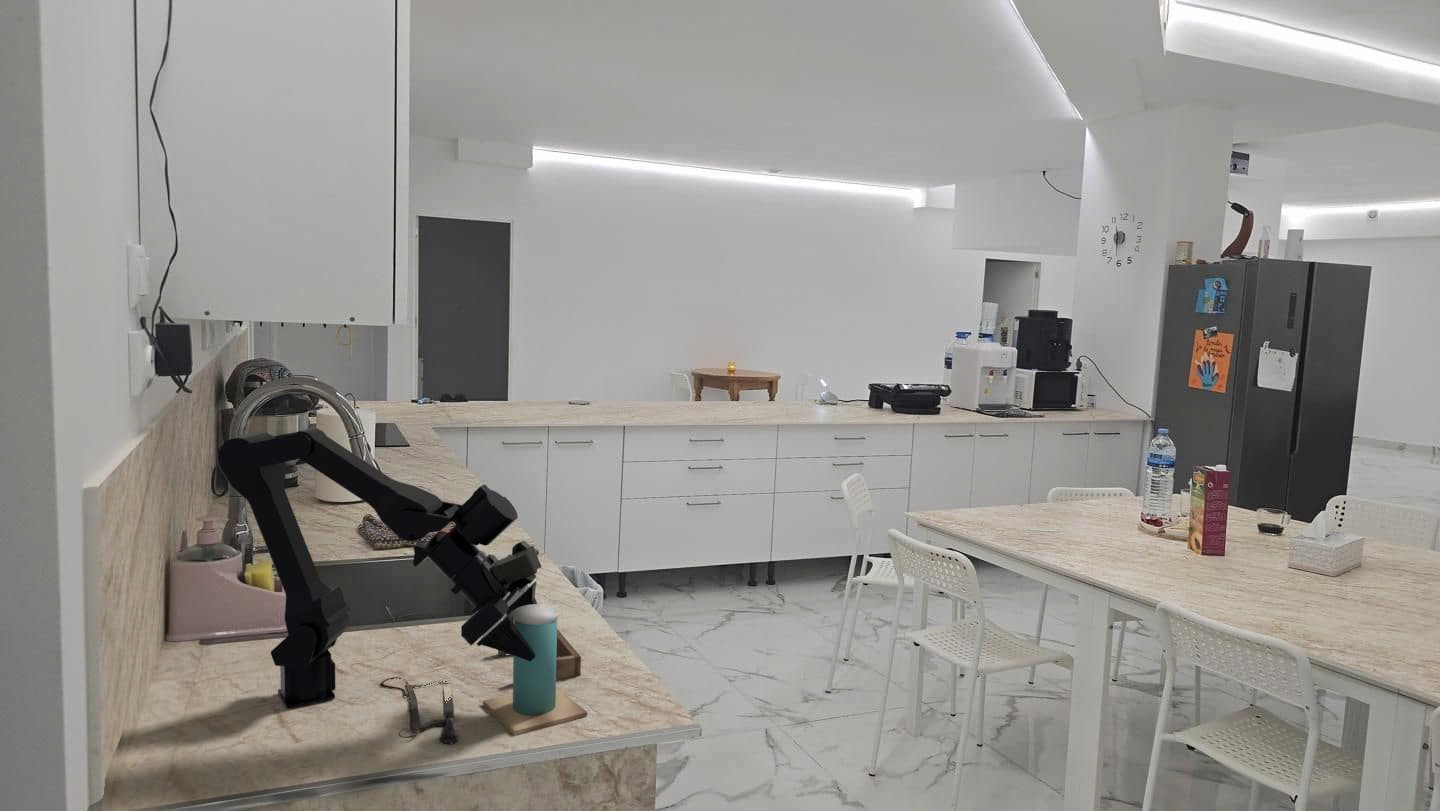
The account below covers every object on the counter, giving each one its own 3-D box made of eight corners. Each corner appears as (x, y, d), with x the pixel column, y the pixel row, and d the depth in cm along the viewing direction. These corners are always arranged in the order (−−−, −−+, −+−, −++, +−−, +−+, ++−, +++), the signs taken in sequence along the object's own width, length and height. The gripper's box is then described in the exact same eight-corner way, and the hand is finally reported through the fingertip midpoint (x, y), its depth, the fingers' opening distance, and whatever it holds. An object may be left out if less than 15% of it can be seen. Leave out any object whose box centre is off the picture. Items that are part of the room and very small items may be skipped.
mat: (514, 735, 123) (514, 730, 123) (483, 704, 132) (483, 700, 132) (587, 715, 130) (587, 711, 130) (552, 687, 138) (552, 684, 138)
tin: (509, 716, 127) (511, 619, 126) (514, 697, 133) (515, 604, 132) (555, 715, 128) (556, 619, 127) (557, 696, 134) (559, 604, 133)
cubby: (517, 684, 139) (517, 665, 139) (498, 654, 151) (498, 636, 150) (580, 675, 143) (581, 656, 143) (557, 646, 155) (557, 628, 155)
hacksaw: (458, 748, 120) (458, 737, 120) (374, 757, 117) (374, 746, 116) (451, 674, 143) (451, 665, 142) (380, 681, 139) (380, 671, 139)
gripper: (486, 546, 119) (568, 633, 120) (523, 513, 137) (594, 589, 138) (426, 601, 120) (507, 687, 121) (471, 561, 139) (541, 636, 139)
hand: (541, 646), depth 130 cm, fingers open, 9 cm apart
